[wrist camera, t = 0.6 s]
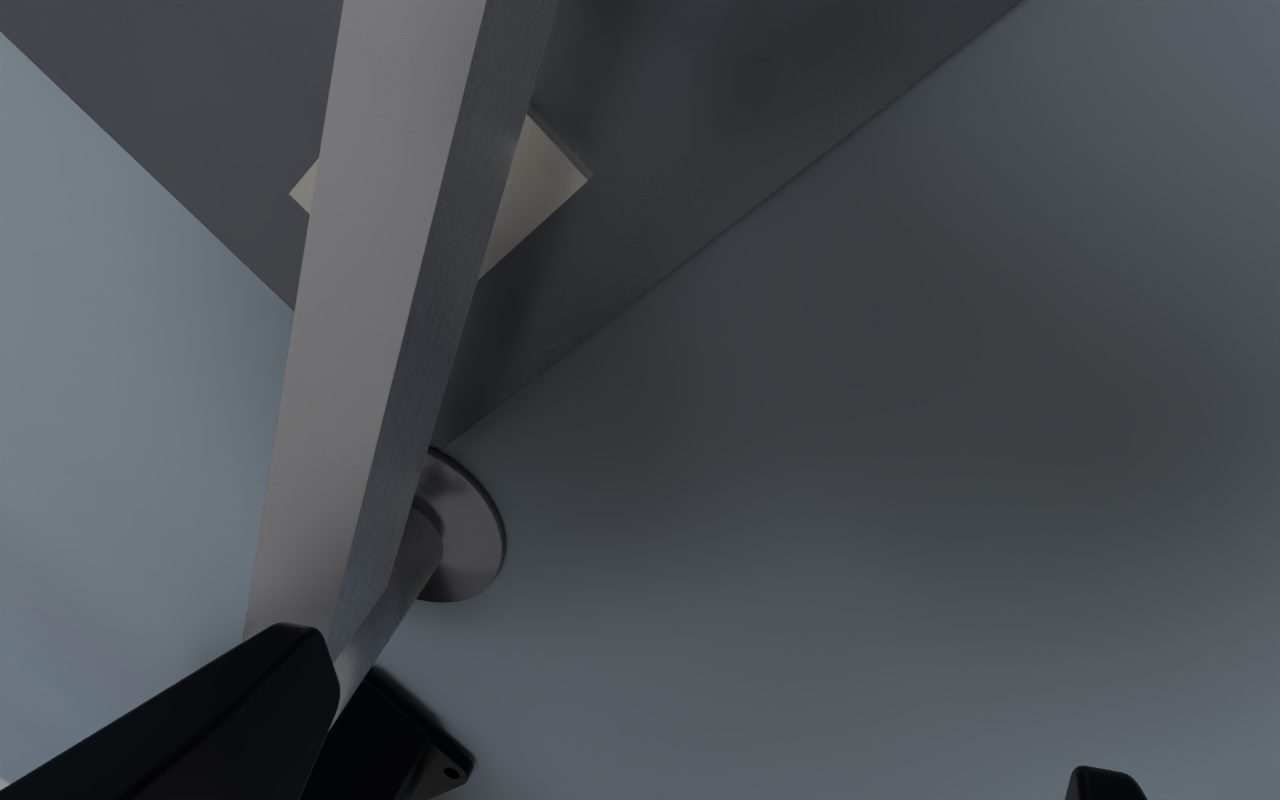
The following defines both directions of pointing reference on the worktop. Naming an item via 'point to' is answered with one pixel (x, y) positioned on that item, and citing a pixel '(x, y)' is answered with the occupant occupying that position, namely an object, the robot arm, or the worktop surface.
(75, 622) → the worktop surface
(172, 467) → the worktop surface
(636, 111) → the board
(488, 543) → the base
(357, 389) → the swing arm
